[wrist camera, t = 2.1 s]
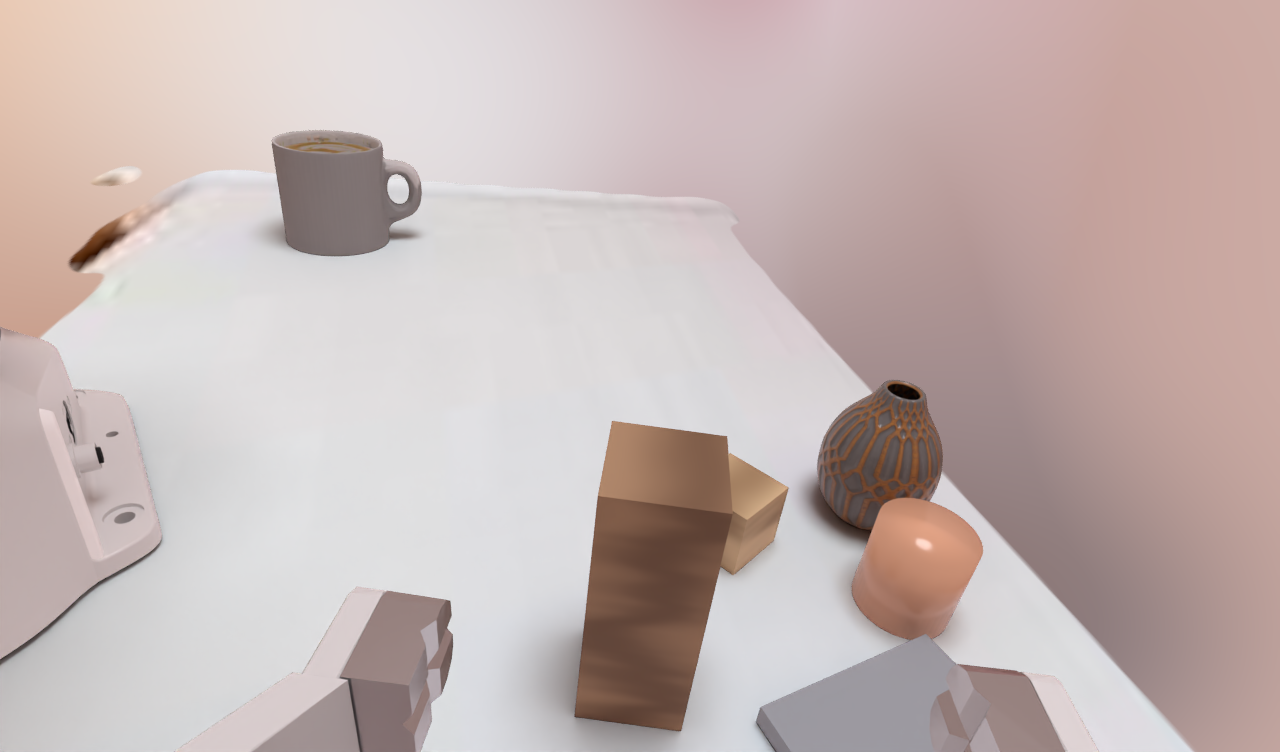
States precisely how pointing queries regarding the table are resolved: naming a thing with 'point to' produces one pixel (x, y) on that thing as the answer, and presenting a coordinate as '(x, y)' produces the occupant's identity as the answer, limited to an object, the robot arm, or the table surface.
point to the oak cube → (751, 513)
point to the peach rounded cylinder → (915, 567)
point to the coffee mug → (338, 191)
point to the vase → (880, 454)
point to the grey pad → (864, 705)
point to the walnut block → (652, 572)
